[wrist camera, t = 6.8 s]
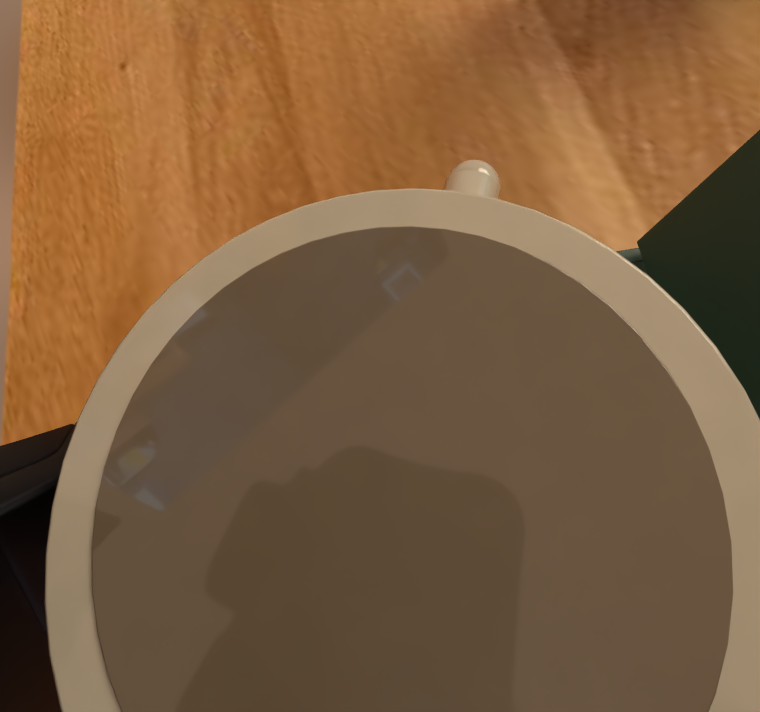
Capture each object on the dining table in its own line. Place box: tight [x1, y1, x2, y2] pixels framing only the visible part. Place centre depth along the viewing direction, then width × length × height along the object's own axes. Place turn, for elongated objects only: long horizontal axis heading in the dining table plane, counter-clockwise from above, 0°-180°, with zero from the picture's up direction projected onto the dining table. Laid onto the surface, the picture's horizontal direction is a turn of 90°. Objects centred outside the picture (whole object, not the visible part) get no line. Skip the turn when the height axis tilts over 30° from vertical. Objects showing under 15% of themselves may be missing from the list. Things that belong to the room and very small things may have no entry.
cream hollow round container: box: [44, 159, 760, 712], centre depth 9 cm, size 9×7×10 cm
